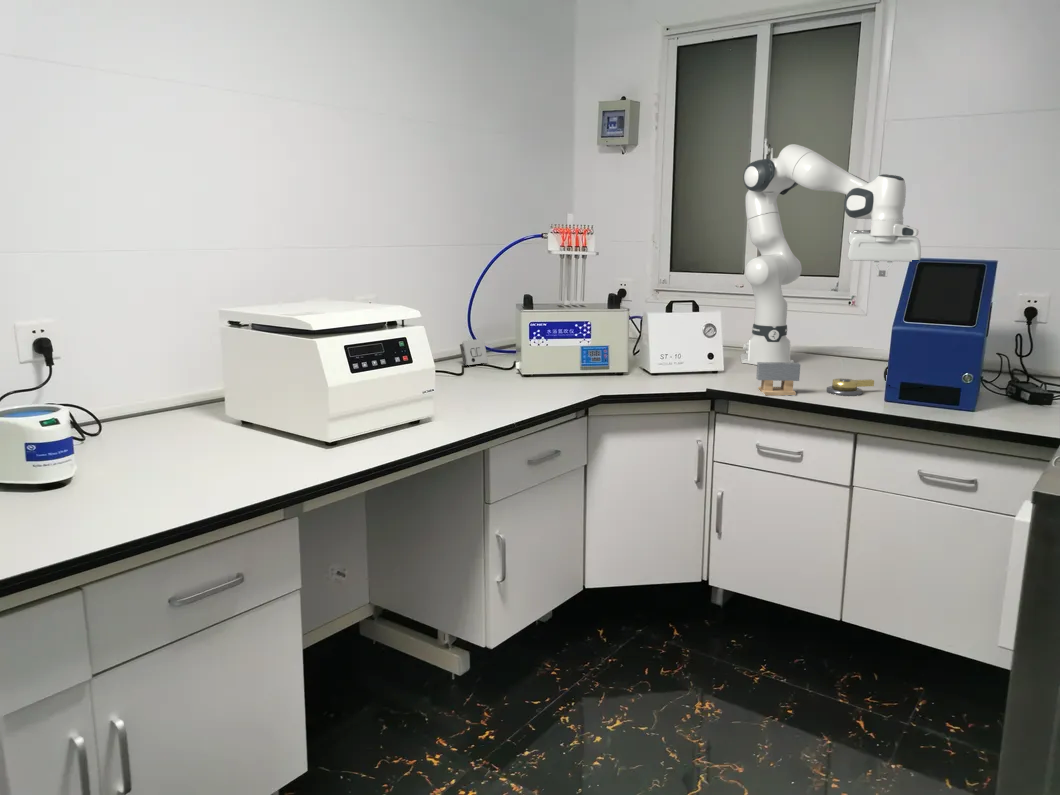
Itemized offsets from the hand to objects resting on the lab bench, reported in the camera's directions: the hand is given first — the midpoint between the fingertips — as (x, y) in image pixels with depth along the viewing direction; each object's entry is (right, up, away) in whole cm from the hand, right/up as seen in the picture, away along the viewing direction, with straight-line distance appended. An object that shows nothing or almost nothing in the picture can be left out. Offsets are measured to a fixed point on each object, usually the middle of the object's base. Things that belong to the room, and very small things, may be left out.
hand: (881, 276), depth 241 cm
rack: (-33, -35, -2) cm, 48 cm away
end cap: (+10, -34, +7) cm, 36 cm away
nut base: (-12, -35, -2) cm, 38 cm away
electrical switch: (-128, -25, +45) cm, 138 cm away
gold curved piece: (-10, -34, -2) cm, 36 cm away
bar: (-33, -32, -3) cm, 46 cm away
